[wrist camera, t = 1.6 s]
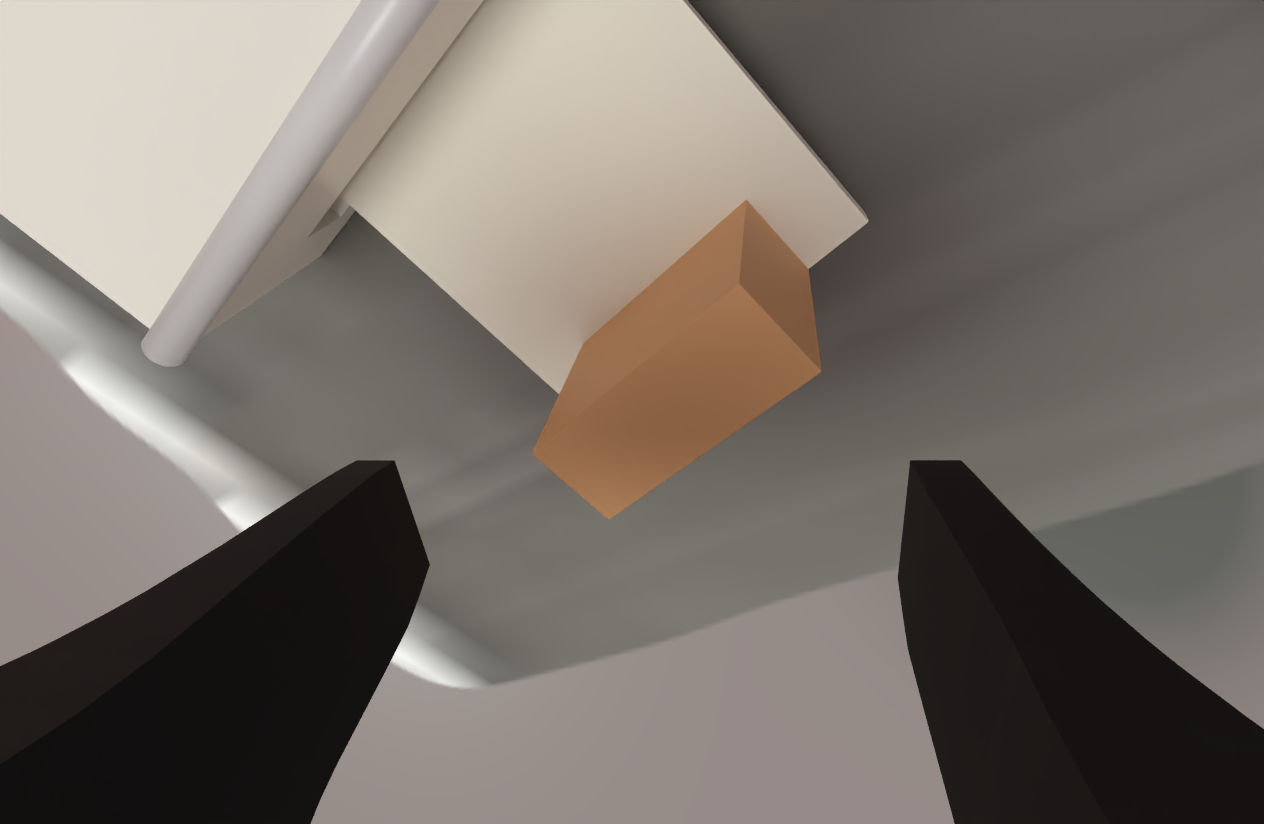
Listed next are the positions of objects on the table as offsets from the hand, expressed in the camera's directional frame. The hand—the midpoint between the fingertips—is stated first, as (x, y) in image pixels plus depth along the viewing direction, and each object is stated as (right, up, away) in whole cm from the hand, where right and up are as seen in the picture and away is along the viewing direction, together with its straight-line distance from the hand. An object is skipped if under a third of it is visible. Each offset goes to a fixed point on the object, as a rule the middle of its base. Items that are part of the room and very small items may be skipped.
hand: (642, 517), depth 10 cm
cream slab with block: (-3, +8, +5) cm, 10 cm away
